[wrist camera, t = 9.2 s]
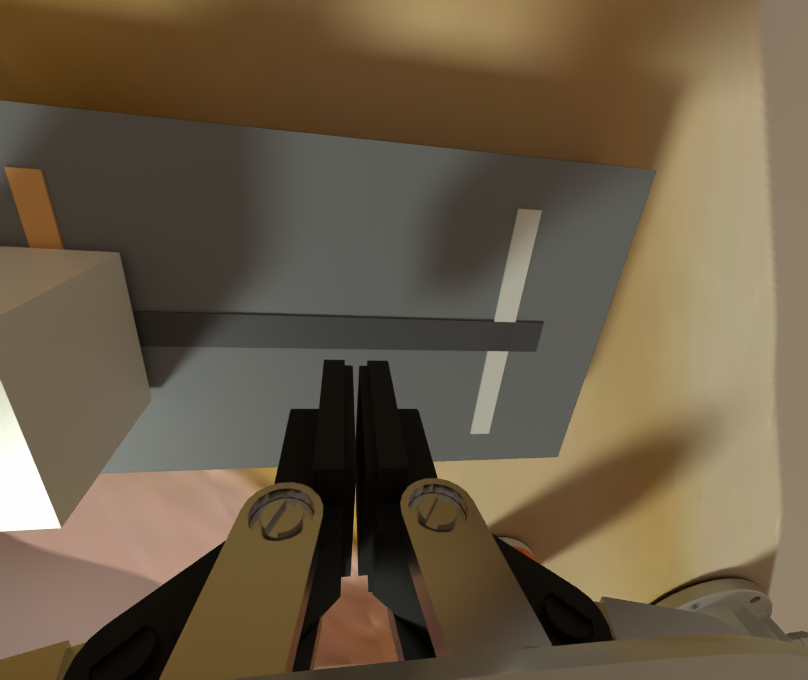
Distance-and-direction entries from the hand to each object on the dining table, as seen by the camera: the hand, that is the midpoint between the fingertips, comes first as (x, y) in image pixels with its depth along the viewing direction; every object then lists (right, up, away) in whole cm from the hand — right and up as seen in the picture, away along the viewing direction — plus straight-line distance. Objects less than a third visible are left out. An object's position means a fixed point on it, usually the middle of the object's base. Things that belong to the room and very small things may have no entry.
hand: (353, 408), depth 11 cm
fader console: (-2, +3, +5) cm, 7 cm away
